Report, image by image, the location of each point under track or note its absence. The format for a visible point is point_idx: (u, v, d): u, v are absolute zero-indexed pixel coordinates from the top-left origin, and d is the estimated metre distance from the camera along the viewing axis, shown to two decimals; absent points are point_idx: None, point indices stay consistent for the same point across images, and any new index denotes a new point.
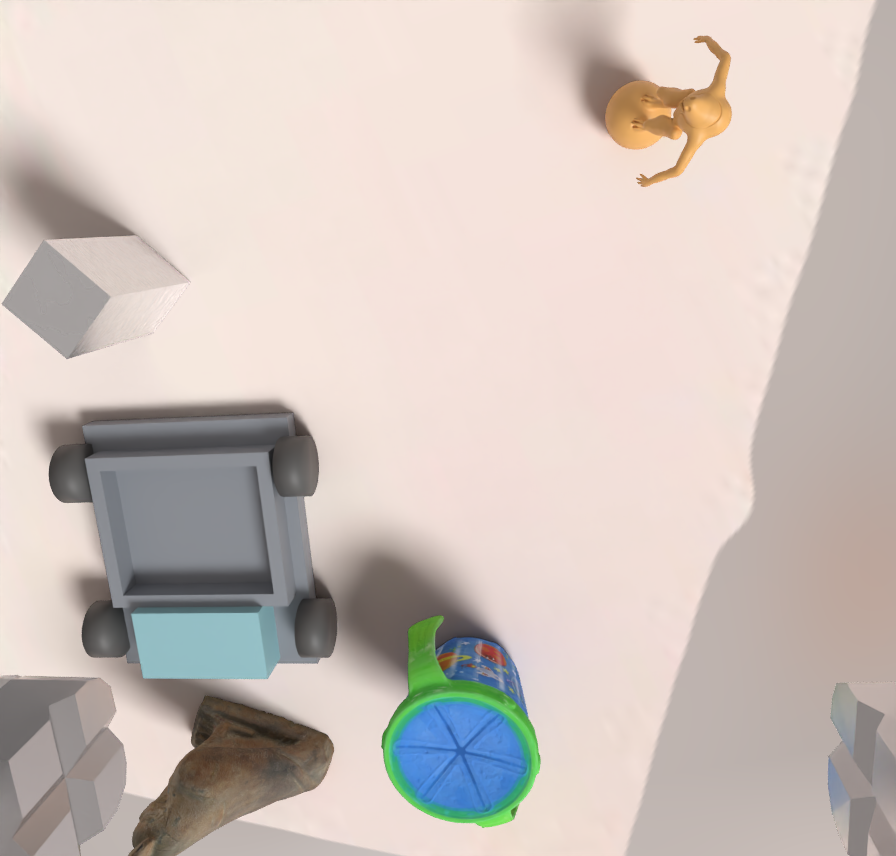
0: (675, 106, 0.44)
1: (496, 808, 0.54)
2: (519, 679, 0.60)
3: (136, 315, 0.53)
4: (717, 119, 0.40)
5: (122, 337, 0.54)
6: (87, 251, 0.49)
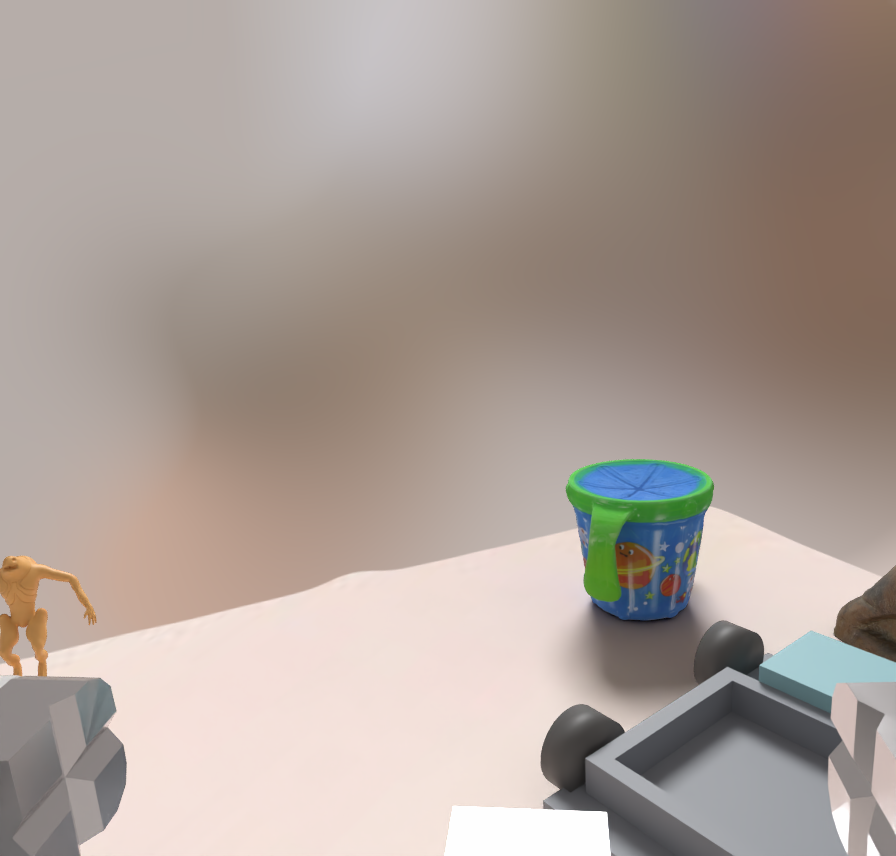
0: (16, 626, 0.48)
1: (648, 462, 0.64)
2: None
3: None
4: (21, 556, 0.49)
5: None
6: None
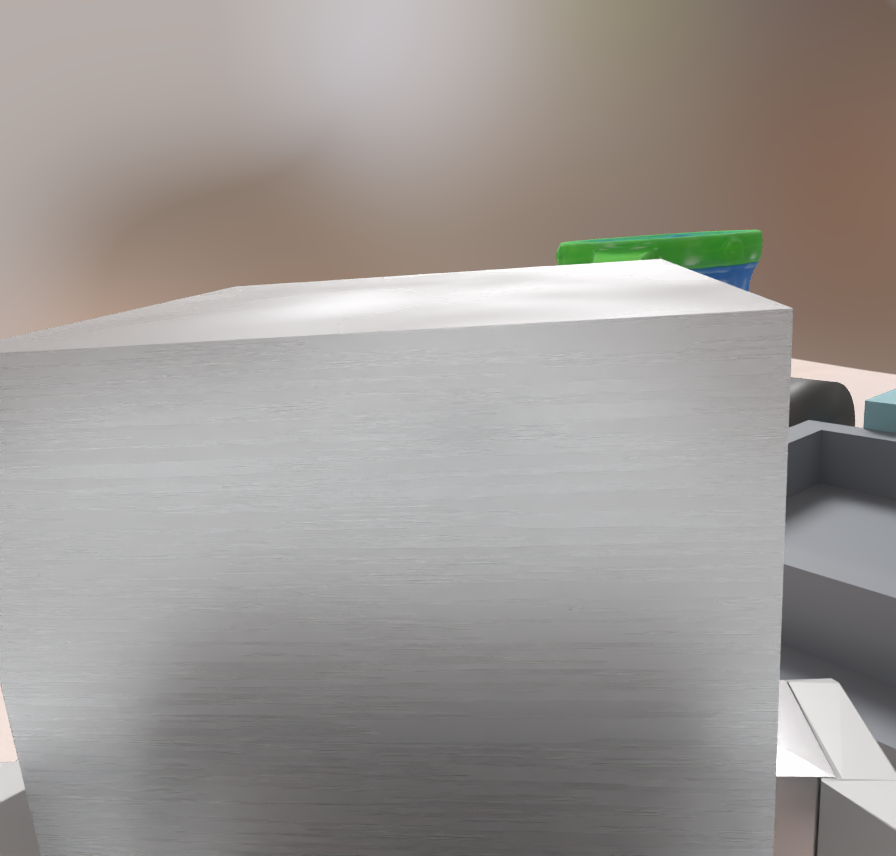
0: None
1: (668, 236, 0.47)
2: None
3: None
4: None
5: None
6: None
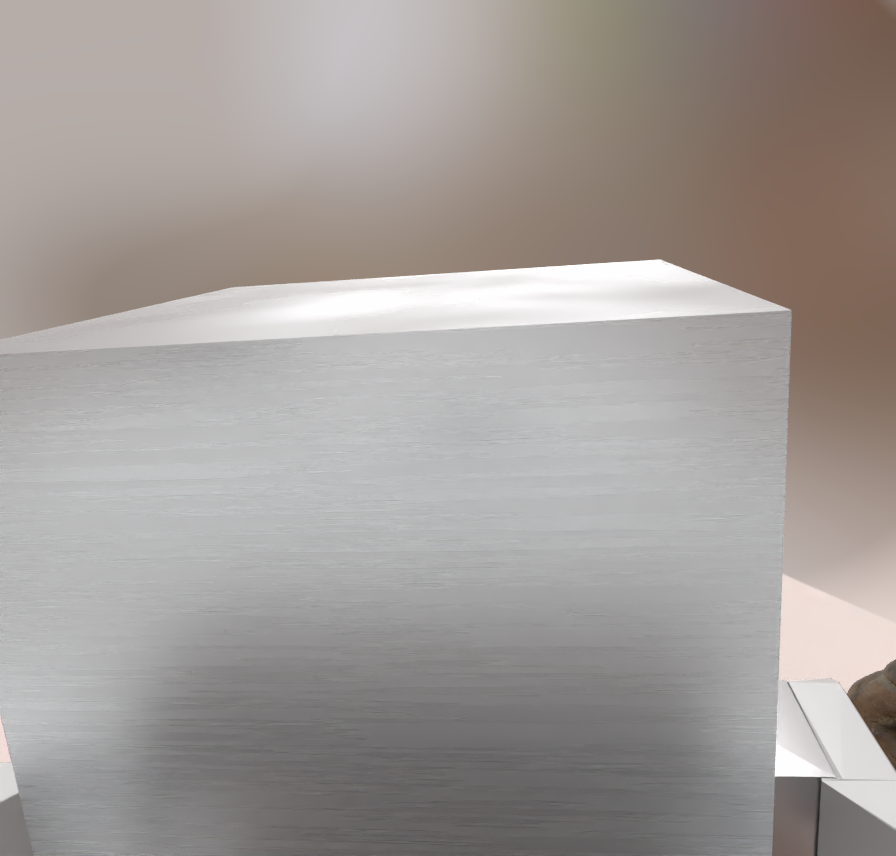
0: None
1: None
2: None
3: None
4: None
5: None
6: None
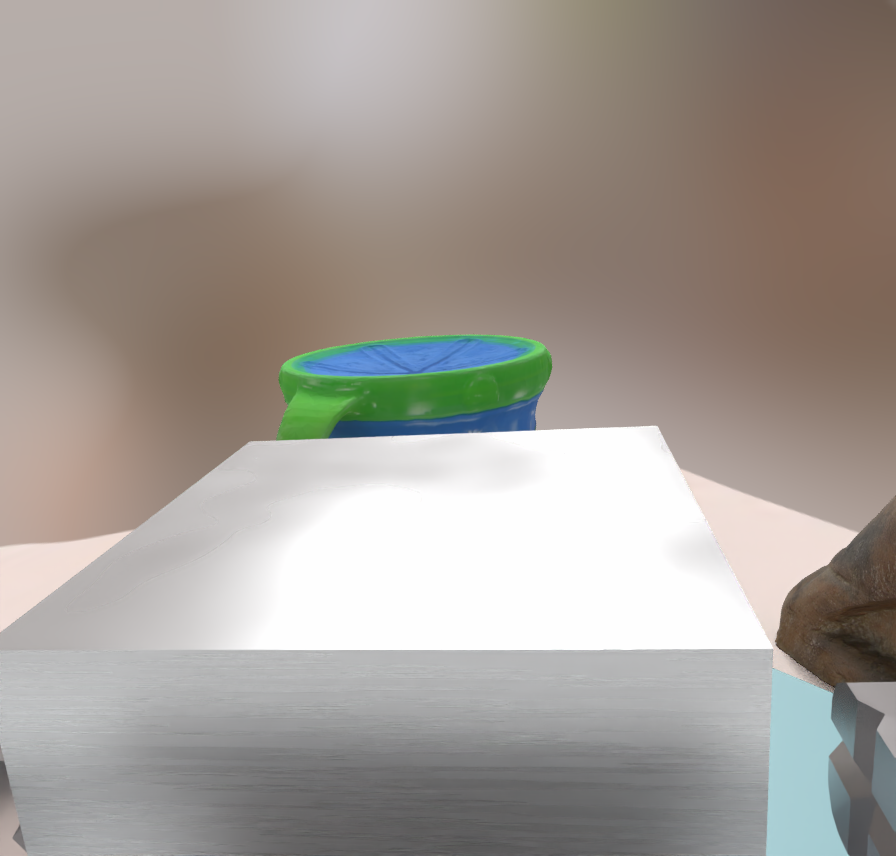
0: None
1: (456, 338, 0.36)
2: None
3: None
4: None
5: None
6: None
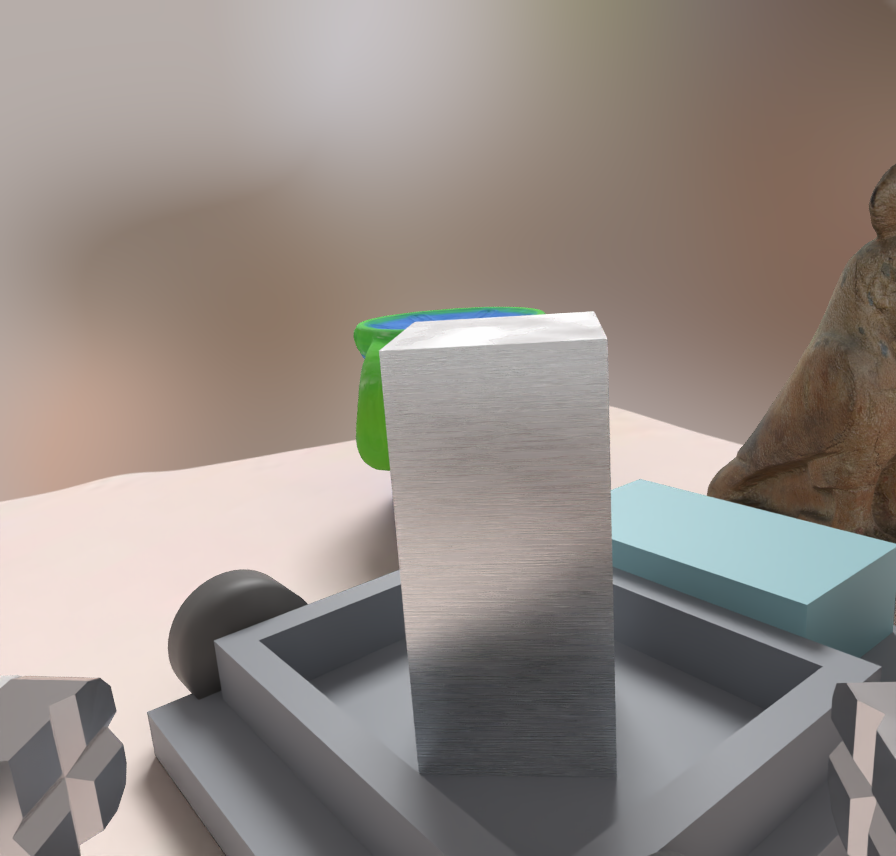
0: None
1: (478, 310, 0.48)
2: None
3: None
4: None
5: None
6: None
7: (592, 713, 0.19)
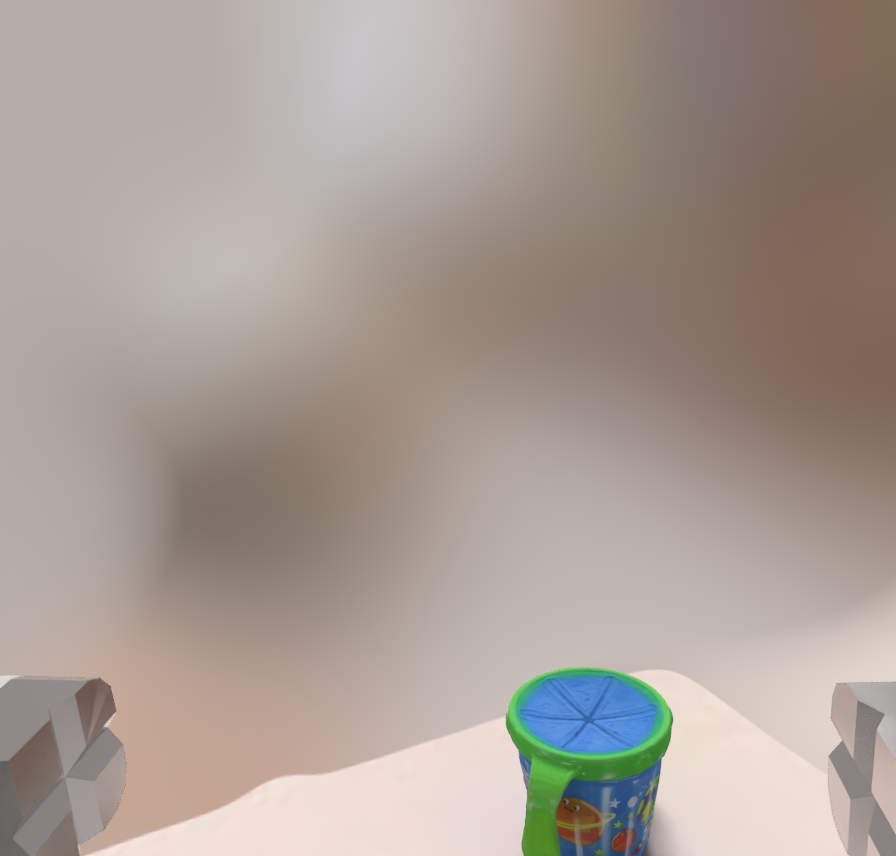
0: None
1: (602, 674, 0.56)
2: None
3: None
4: None
5: None
6: None
7: None
